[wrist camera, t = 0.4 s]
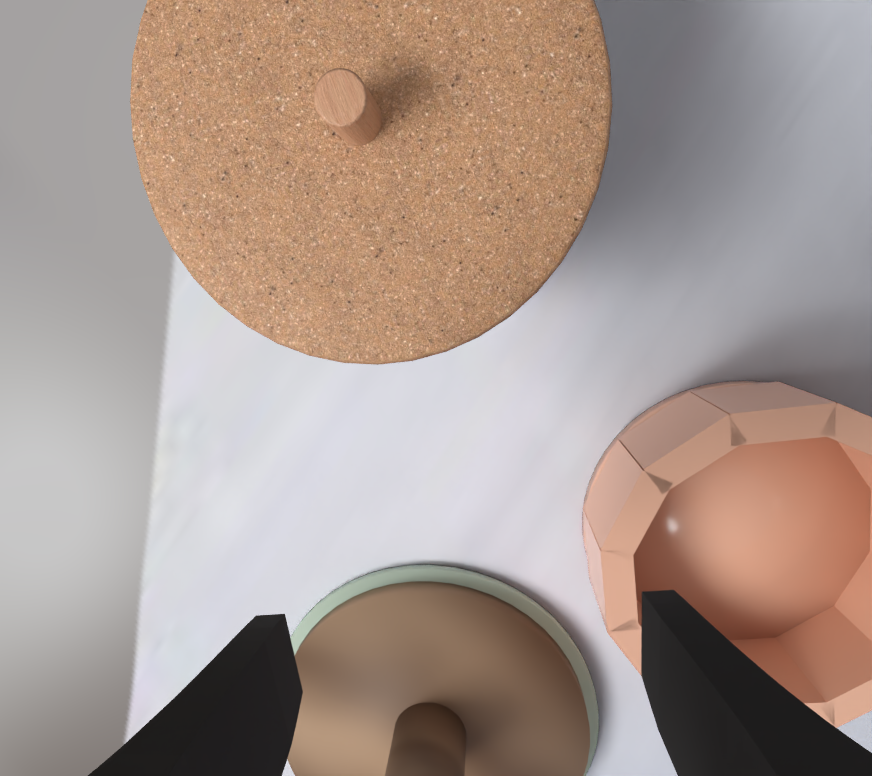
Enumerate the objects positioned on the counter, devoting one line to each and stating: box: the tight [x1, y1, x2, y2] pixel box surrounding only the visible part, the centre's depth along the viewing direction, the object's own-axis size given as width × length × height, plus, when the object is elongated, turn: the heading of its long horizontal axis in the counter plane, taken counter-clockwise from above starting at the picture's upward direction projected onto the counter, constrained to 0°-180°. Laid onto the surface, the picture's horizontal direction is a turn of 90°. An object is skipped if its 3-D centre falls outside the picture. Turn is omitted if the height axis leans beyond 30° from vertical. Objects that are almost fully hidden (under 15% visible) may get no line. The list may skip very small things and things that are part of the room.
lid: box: [287, 581, 590, 776], centre depth 21 cm, size 13×13×5 cm
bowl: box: [582, 381, 872, 728], centre depth 19 cm, size 11×11×4 cm
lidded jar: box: [130, 0, 612, 364], centre depth 15 cm, size 11×11×9 cm
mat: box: [290, 565, 599, 776], centre depth 23 cm, size 14×14×1 cm
